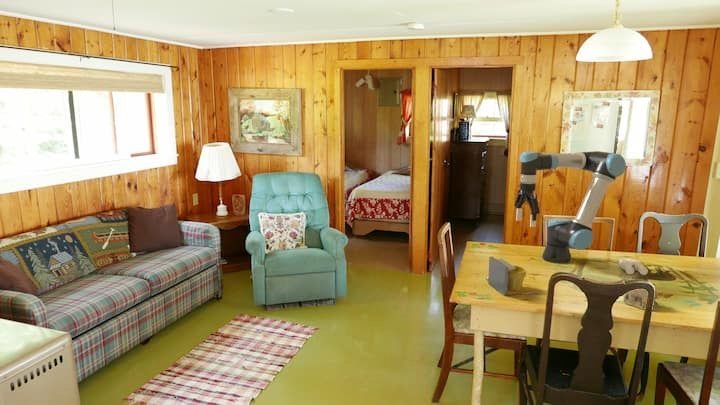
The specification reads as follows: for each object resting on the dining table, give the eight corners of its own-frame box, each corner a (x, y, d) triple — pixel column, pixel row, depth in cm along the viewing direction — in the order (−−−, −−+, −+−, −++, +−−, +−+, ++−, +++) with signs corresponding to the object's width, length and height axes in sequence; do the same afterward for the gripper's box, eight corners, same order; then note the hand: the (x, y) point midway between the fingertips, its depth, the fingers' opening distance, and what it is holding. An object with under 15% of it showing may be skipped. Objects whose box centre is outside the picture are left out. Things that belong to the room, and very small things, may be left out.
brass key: (495, 275, 256) (496, 274, 256) (500, 277, 254) (500, 275, 253) (484, 279, 252) (484, 277, 252) (489, 281, 249) (489, 279, 249)
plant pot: (526, 292, 234) (527, 272, 232) (503, 291, 236) (504, 271, 234) (523, 284, 244) (525, 265, 242) (502, 283, 246) (502, 264, 244)
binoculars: (625, 274, 257) (626, 266, 256) (616, 264, 272) (616, 256, 271) (647, 275, 255) (648, 267, 254) (636, 265, 270) (637, 257, 269)
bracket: (519, 280, 250) (521, 253, 247) (538, 293, 233) (540, 264, 230) (487, 283, 246) (488, 256, 243) (504, 296, 230) (506, 267, 227)
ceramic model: (662, 305, 218) (664, 283, 216) (655, 313, 210) (658, 291, 208) (627, 297, 227) (629, 276, 225) (619, 304, 219) (621, 283, 217)
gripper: (508, 179, 262) (507, 218, 266) (534, 187, 238) (532, 229, 242) (521, 178, 263) (519, 217, 267) (548, 186, 239) (546, 228, 243)
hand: (525, 223), depth 255 cm, fingers open, 13 cm apart
